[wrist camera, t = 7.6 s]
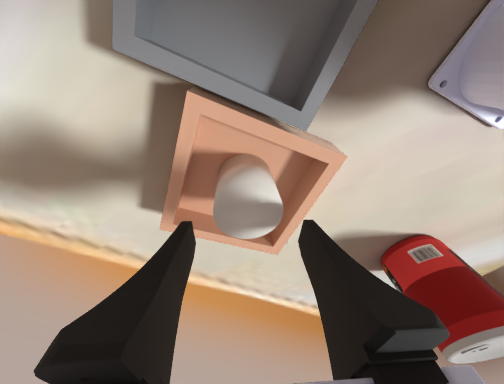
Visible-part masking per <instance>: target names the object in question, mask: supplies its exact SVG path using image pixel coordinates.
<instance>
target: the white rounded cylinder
mask: <svg viewBox="0 0 504 384" xmlns="http://www.w3.org/2000/svg"><path fill="white" fill-rule="evenodd" d="M283 211H284V208H283V203H282V200H281V198H280V195H279V192H278V190H277V187H276V184H275V181H274V179H273V176H272V173H271V171H270V168H269V166H268V165H267V163H266V162H265V161H264V160H263V159H261V158H260V157H258V156H255V155H252V154H238V155H235V156H232V157H230V158H229V159H227V160H226V161H225V162H224V163H223V164H222V165H221V167H220V168H219V171H218V175H217V182H216V190H215V199H214V207H213V219H214V221H215V224H216V225H217V227H218V228H219V229H220V230H221V231H222V232H224V233H225V234H227V235H229V236H231V237H235V238H239V239H253V238H257V237H261V236H263V235H266V234H268V233H269V232H271V231H272V230H273V229H275V228H276V227H277V225H278V224H279V223H280V221H281V219H282V217H283Z"/></svg>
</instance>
